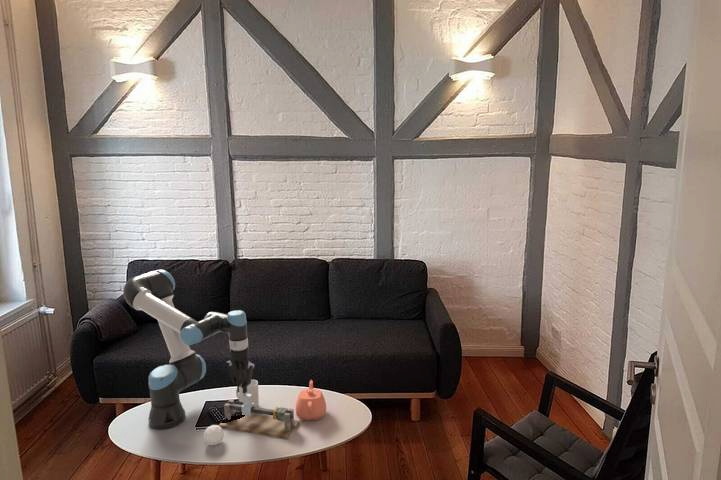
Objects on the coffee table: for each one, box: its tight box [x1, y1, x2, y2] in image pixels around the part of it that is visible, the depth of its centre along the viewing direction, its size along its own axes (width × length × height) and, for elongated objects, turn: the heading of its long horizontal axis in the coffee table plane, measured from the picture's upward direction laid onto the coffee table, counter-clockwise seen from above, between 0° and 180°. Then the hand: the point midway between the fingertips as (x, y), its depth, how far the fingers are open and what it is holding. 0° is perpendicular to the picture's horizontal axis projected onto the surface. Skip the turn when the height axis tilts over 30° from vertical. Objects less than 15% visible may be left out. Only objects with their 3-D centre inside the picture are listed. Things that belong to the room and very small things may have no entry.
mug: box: [235, 379, 260, 408], centre depth 238 cm, size 10×7×12 cm, turn 88°
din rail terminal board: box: [218, 399, 301, 440], centre depth 224 cm, size 32×12×9 cm, turn 73°
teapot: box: [295, 379, 327, 422], centre depth 232 cm, size 13×20×12 cm, turn 4°
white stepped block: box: [241, 393, 255, 416], centre depth 224 cm, size 4×4×8 cm
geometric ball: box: [203, 424, 225, 446], centre depth 212 cm, size 8×8×8 cm
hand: (242, 399), depth 225 cm, fingers closed
